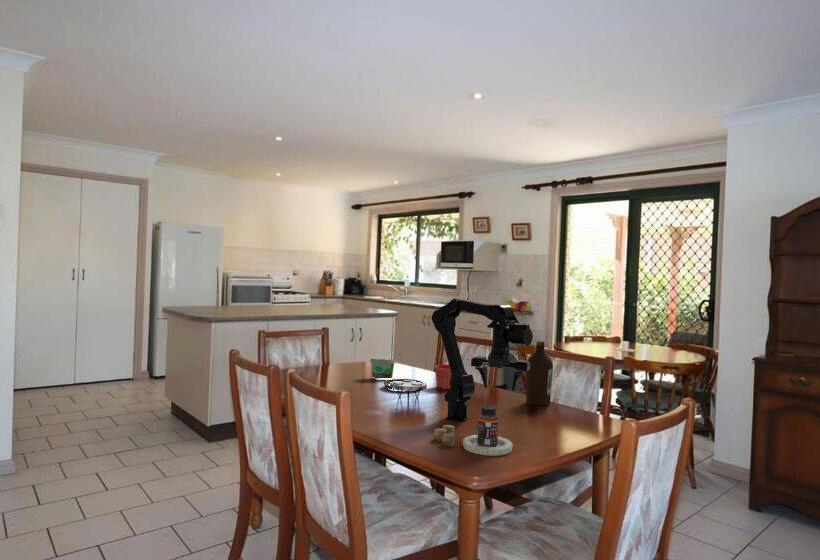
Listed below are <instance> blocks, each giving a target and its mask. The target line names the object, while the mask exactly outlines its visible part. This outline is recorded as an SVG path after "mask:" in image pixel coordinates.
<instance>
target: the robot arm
mask: <svg viewBox="0 0 820 560" xmlns="http://www.w3.org/2000/svg"><path fill="white" fill-rule="evenodd" d="M462 312H467V313H472V314H475V315H476V314H477V315H479V316H483V317H485V318H486V319H488V320H490V321H491V322H490V323H489V324H487V325H486V328H487V329H492V336H491V337H492V338H491V339H492V343H491V350H490V352H489V354H488V356H482V355H481V356H480V355H479V356H477V355H476V356H474V357H472V358H471V360H470V367H474V369H475V370H477V371H478V372H479V374H480V376H481V379H482V383H483V386H484V389H487V387H488V367H489V368H497V369H503V368H505V367H506V368H514V369H515V370H514V371H513V380H512V387H511V388H512V392H515V389H516V387H517V384H518V383H519V382H518V381H519V379H520V377H522V376H521V375H522V374H525V373H526V371H528V370H529V369H530V362H529V361H527V360H526V359H517V360H515V361H511V353H510V348H511V345H517V346H526V347H529V346H530V345H531V344H532V342H533V337H534V335H533V331H532V329H531V328H530V324H528V323H525V324H523V323H522V324H520V323H521V322H519V320H518V318H517V316H516V315H515V313H514V309H513V307H512V306H511V305H510V304H488V303H483V302H478V301H473V300H468V299H464V298H462V297H461V298H460V297H459V298H453V299H451V300H450V301H449V302H447V303H446V304H444V305H443V306H441V307H439V308H438V309H436V310H434V311H433V313H432V315H431V322H432V324H433V326H434V328H435V330H436V332H438V333H439V335H440V336H441V339H442V340H441V341H442V344H443V348H444V352H445V355H446V359H447V362H448V365H449V367H450V370H451V379H450V390H448V391H447V392H446V393H444V395H443V396H444V397H443V398H444V401H445V402H447V416H446V417H445V420H446V419H447V420H453V421H454V420H455V421H460V422H464V421H465V420H467V419H468V418H469V416H470V415H469V411H470V408H469V405H468V401H471V399H472V396H473V395H474V392H475V390H476V387H475V386H476V385H477V384H476V383H475V381H474V375H473V374H472V373H469V374H468V372H467V371H466V369H465V366H464V363H463V359H462V355H461V351H460V347H459V344H458V340H457V337H456V333H455V332H456V326H457V325H456V324H457V322H456V319H457V318H458V317H459V316H460V314H461V313H462Z"/></svg>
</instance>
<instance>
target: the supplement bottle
mask: <svg viewBox="0 0 820 560" xmlns="http://www.w3.org/2000/svg"><path fill="white" fill-rule="evenodd" d="M496 412H497V411H496V407H495V406H493V405H484V406H482V407H481V412H480V413H478V417H477V420H478V421H477V435H478V437H477V444H478V445H479V446H483V447H496V446H497V443H498V436H499V415H497V413H496Z"/></svg>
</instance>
